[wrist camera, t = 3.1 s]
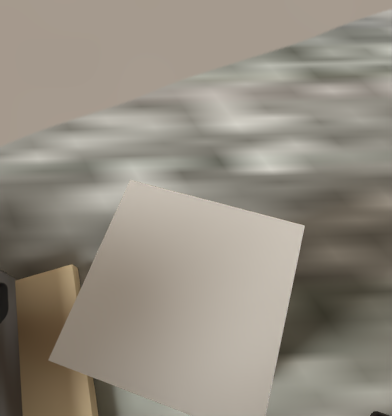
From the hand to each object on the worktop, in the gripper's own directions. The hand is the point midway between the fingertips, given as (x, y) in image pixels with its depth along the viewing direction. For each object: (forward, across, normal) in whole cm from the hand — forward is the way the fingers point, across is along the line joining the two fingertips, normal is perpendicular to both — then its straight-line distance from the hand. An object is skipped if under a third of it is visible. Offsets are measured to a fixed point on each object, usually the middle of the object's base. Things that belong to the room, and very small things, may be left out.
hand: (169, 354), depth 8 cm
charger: (+7, 0, +5) cm, 9 cm away
